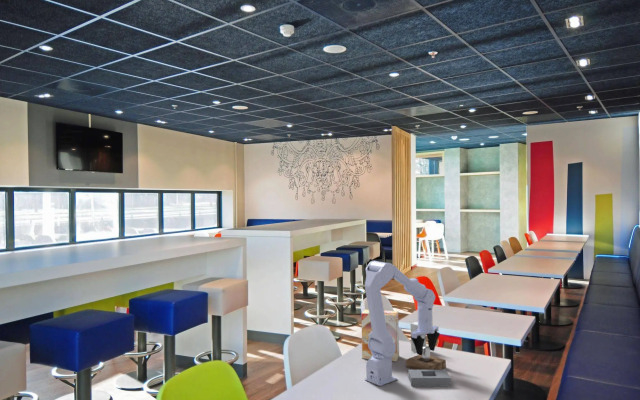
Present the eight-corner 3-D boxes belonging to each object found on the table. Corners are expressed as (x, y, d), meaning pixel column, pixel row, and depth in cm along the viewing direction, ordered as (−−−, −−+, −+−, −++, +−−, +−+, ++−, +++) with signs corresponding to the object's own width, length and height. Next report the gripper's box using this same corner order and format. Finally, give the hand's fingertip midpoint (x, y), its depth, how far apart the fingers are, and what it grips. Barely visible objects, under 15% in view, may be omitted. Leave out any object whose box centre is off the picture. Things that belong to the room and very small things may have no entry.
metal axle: (426, 369, 183) (426, 349, 183) (420, 367, 186) (419, 347, 186) (431, 367, 185) (431, 347, 185) (425, 365, 188) (425, 345, 188)
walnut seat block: (428, 374, 178) (428, 366, 178) (406, 366, 186) (406, 359, 186) (445, 367, 185) (445, 359, 185) (423, 360, 193) (423, 353, 193)
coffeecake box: (361, 358, 197) (360, 312, 196) (365, 353, 203) (364, 308, 203) (397, 361, 192) (396, 314, 192) (399, 356, 199) (398, 310, 199)
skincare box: (419, 353, 202) (418, 325, 202) (410, 350, 205) (409, 323, 205) (427, 349, 206) (426, 322, 206) (418, 347, 210) (417, 320, 209)
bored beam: (411, 386, 167) (411, 377, 167) (408, 377, 175) (408, 369, 175) (450, 386, 166) (450, 377, 166) (445, 377, 174) (445, 369, 174)
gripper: (421, 323, 178) (422, 359, 178) (444, 317, 187) (445, 350, 187) (407, 320, 183) (407, 354, 183) (430, 313, 192) (430, 346, 192)
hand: (425, 352), depth 185 cm, fingers open, 7 cm apart
